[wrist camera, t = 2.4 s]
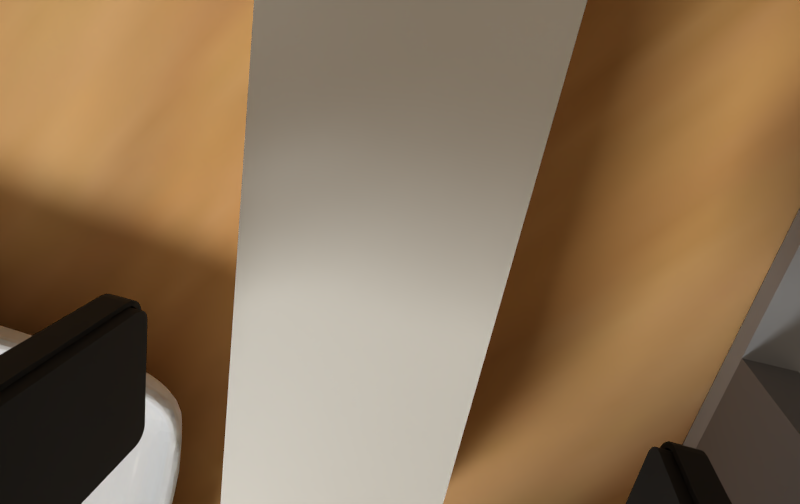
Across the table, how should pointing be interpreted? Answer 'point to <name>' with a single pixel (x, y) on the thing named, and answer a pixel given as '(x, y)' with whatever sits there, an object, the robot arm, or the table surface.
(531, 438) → the table surface
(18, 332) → the salad plate
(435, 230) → the beige rectangular block
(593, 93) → the table surface
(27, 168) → the table surface
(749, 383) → the endcap jig
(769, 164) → the table surface
